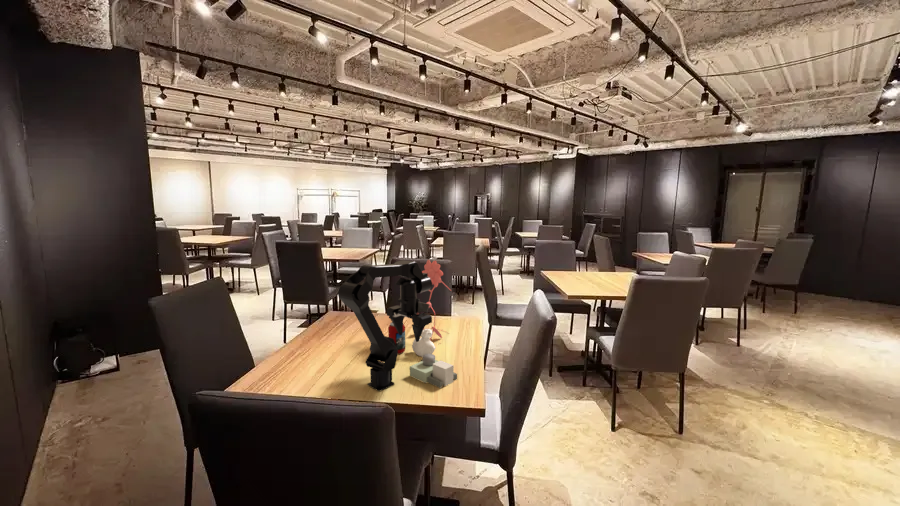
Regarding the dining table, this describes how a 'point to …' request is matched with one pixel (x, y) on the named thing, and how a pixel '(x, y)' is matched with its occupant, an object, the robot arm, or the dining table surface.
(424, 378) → the wall plug adapter
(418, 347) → the bust
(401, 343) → the beverage can
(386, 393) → the dining table surface
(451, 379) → the upright cream block
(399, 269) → the robot arm
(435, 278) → the figurine
